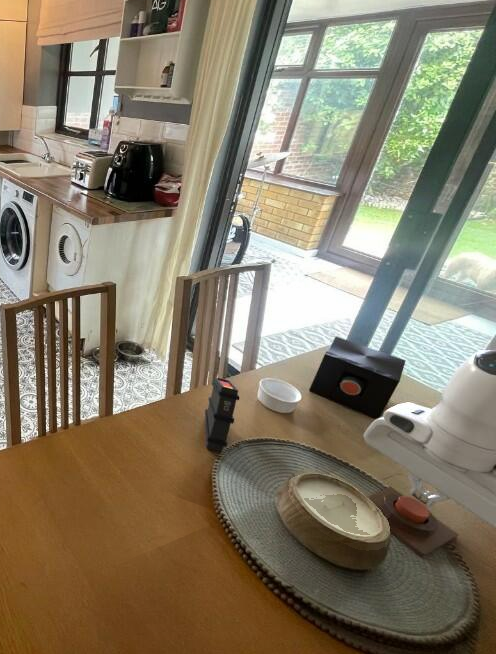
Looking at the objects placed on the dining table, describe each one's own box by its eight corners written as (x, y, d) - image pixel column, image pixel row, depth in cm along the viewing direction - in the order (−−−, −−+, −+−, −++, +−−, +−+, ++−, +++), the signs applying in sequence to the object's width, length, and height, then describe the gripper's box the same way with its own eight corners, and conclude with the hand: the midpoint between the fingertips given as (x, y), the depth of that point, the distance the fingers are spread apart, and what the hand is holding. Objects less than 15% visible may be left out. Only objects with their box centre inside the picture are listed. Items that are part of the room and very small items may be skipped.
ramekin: (287, 394, 107) (293, 381, 105) (302, 418, 99) (308, 404, 98) (250, 388, 109) (254, 375, 107) (261, 411, 101) (267, 398, 99)
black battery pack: (206, 454, 87) (220, 386, 87) (199, 434, 100) (212, 375, 99) (226, 460, 86) (240, 391, 86) (217, 440, 98) (229, 379, 98)
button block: (451, 544, 72) (464, 528, 70) (416, 564, 69) (429, 548, 67) (384, 495, 81) (394, 479, 79) (351, 511, 78) (361, 495, 76)
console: (377, 420, 99) (399, 381, 94) (308, 390, 108) (325, 353, 103) (385, 397, 106) (405, 360, 101) (319, 371, 116) (335, 336, 111)
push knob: (357, 398, 99) (363, 385, 97) (337, 390, 101) (343, 378, 100) (359, 393, 100) (365, 380, 99) (339, 385, 103) (345, 373, 101)
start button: (430, 519, 72) (435, 512, 71) (416, 526, 71) (421, 520, 70) (403, 499, 76) (407, 493, 75) (389, 506, 74) (393, 499, 74)
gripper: (570, 490, 58) (516, 551, 64) (396, 396, 75) (367, 450, 81) (547, 504, 56) (494, 565, 62) (374, 404, 73) (346, 459, 79)
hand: (421, 499), depth 72 cm, fingers closed
